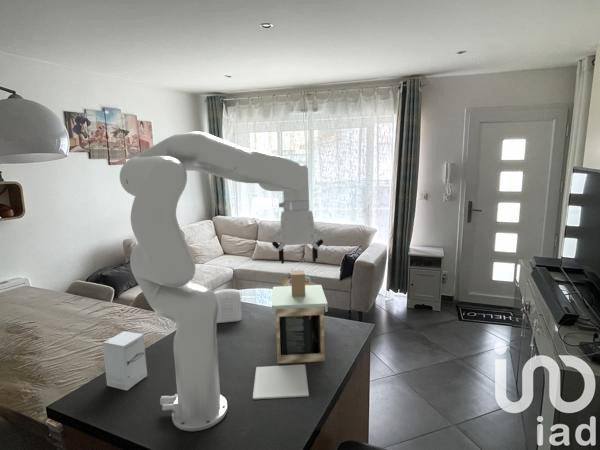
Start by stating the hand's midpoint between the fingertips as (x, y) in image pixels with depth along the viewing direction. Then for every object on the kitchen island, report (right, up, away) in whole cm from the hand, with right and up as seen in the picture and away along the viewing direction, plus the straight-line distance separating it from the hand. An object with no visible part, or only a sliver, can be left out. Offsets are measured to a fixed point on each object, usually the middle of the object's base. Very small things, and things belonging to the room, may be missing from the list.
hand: (298, 261), depth 109 cm
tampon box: (0, -28, +4) cm, 29 cm away
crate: (0, -28, +4) cm, 28 cm away
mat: (-5, -31, -13) cm, 34 cm away
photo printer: (-27, -25, +27) cm, 45 cm away
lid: (0, -13, +2) cm, 13 cm away
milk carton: (0, -26, +21) cm, 33 cm away
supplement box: (-47, -32, -11) cm, 58 cm away
